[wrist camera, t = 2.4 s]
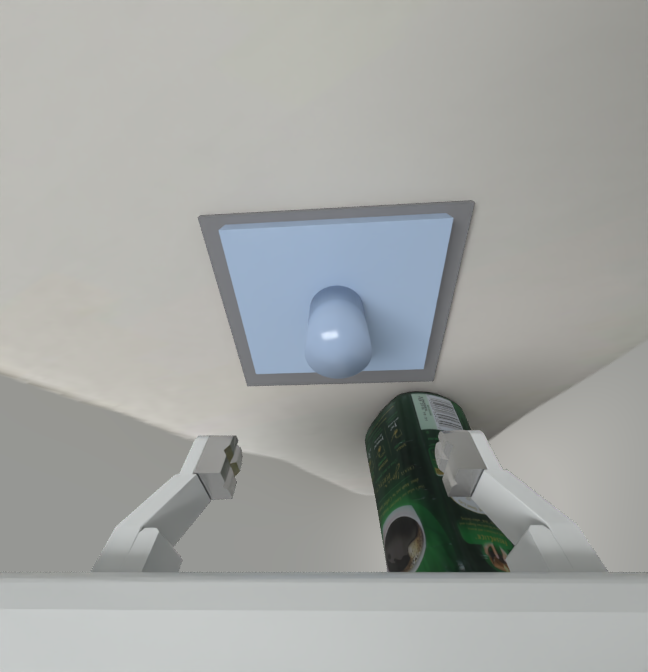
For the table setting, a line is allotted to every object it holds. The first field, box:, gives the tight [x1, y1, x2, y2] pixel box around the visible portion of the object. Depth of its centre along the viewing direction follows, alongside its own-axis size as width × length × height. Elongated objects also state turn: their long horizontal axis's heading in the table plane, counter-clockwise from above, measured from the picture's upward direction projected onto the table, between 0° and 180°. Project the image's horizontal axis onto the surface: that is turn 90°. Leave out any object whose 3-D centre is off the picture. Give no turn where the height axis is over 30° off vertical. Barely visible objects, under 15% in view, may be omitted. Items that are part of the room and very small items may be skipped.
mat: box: [198, 200, 475, 386], centre depth 21 cm, size 14×16×1 cm
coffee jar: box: [365, 392, 515, 572], centre depth 21 cm, size 10×8×19 cm
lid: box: [218, 213, 453, 379], centre depth 18 cm, size 11×13×6 cm
